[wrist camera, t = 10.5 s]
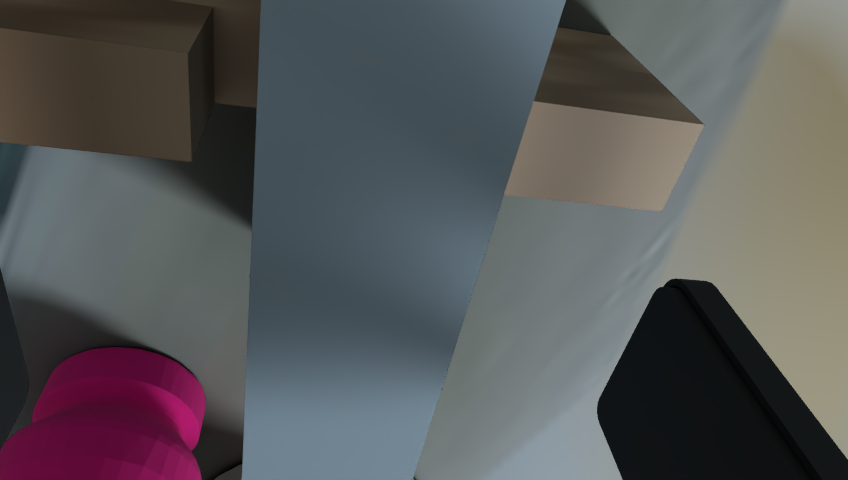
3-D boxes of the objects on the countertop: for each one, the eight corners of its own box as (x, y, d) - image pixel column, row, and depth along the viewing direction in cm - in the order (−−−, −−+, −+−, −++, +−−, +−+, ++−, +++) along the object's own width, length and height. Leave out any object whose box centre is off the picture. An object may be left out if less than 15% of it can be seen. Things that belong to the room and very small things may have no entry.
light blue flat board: (350, 254, 23) (357, 651, 12) (284, 249, 22) (234, 656, 12) (440, -312, 14) (753, -582, 3) (331, -342, 13) (293, -774, 3)
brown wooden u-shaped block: (612, 35, 19) (704, 124, 14) (586, 107, 20) (661, 211, 15) (35, -60, 16) (-98, 14, 11) (51, 34, 17) (-62, 135, 12)
